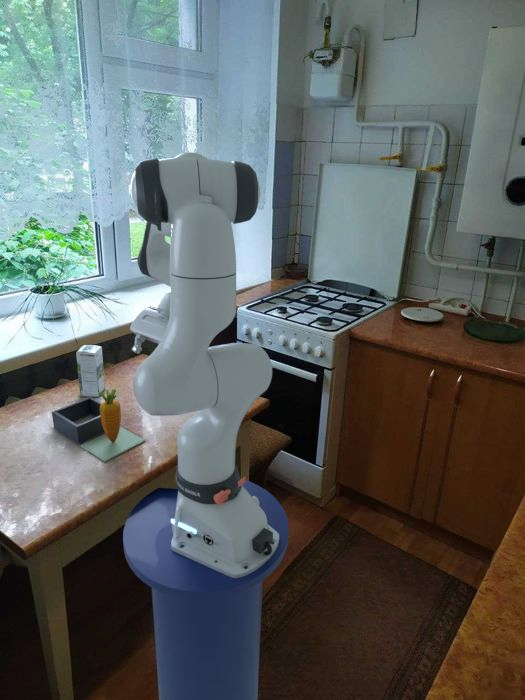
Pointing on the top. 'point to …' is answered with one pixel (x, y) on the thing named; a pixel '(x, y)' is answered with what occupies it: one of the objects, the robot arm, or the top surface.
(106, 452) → the mat
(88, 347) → the syrup box
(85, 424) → the crate
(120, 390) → the top surface
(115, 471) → the top surface
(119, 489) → the top surface
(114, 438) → the carrot
